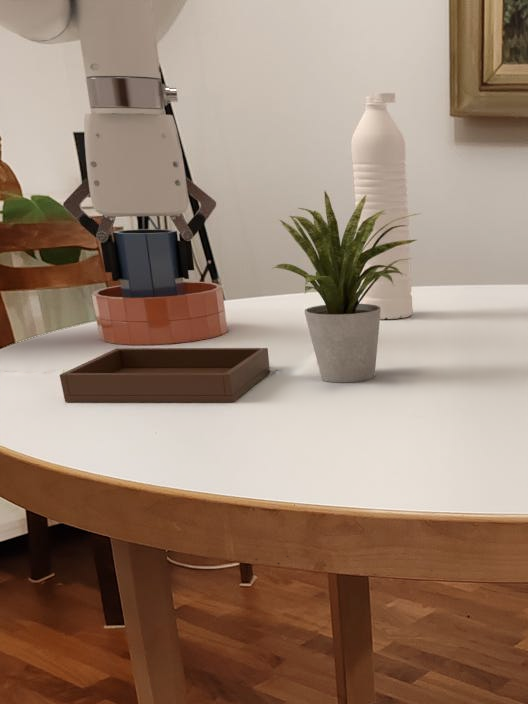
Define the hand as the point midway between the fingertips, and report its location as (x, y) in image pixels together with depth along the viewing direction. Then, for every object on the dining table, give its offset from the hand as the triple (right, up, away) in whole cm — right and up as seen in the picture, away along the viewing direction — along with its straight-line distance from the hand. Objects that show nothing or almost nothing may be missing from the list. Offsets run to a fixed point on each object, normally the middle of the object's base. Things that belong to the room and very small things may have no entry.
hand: (151, 277), depth 111 cm
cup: (0, -3, +1) cm, 3 cm away
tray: (+9, -18, -20) cm, 28 cm away
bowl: (+1, -6, +3) cm, 7 cm away
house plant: (+25, -17, -18) cm, 35 cm away
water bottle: (+26, 0, +15) cm, 30 cm away
